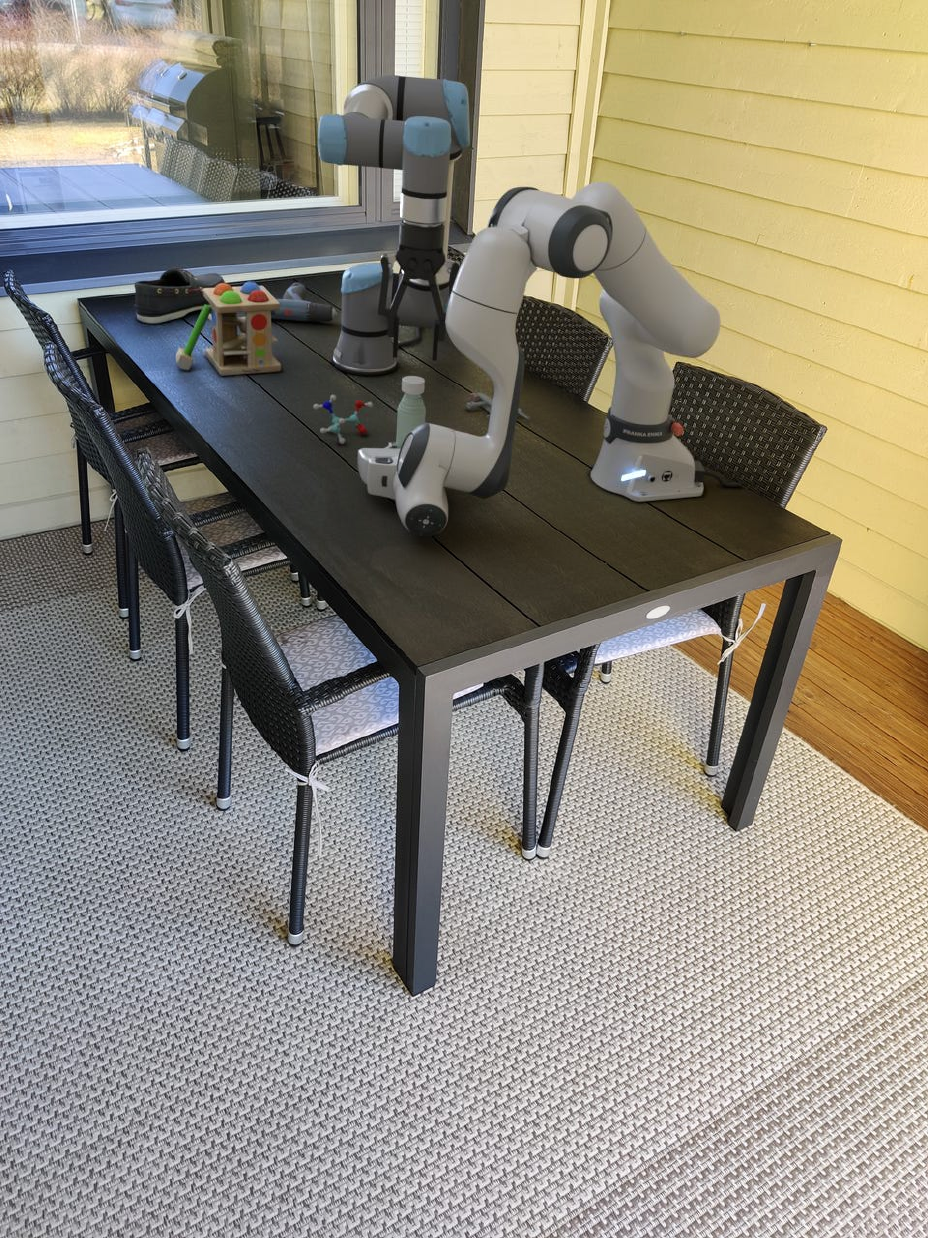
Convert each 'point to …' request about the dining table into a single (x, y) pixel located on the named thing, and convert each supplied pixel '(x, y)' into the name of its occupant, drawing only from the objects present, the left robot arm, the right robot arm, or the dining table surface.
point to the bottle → (409, 416)
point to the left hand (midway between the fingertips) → (414, 356)
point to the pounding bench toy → (229, 347)
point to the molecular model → (338, 421)
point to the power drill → (301, 307)
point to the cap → (413, 385)
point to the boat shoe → (172, 295)
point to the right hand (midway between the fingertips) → (409, 446)
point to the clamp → (485, 403)
